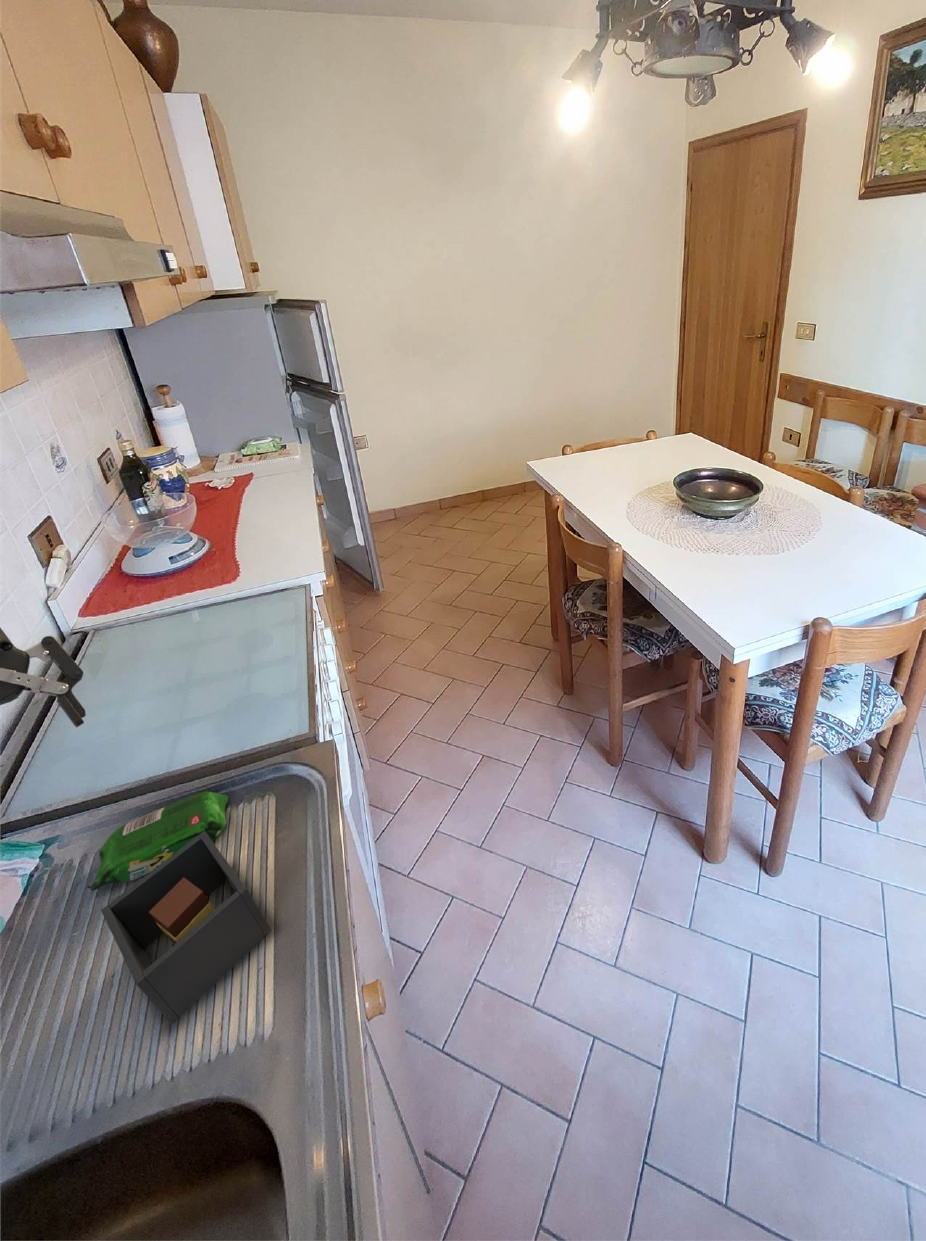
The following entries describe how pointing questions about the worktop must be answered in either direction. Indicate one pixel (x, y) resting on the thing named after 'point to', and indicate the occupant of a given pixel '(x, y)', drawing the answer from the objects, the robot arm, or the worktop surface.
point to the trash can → (200, 950)
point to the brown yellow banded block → (181, 910)
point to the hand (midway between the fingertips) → (35, 751)
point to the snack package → (159, 837)
